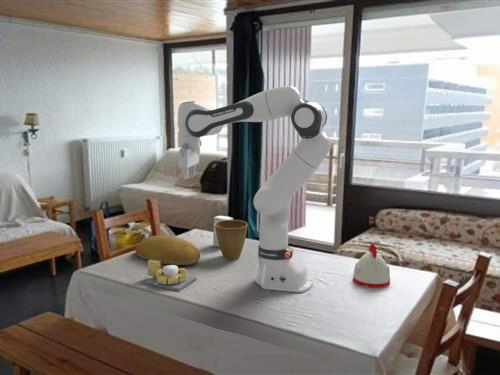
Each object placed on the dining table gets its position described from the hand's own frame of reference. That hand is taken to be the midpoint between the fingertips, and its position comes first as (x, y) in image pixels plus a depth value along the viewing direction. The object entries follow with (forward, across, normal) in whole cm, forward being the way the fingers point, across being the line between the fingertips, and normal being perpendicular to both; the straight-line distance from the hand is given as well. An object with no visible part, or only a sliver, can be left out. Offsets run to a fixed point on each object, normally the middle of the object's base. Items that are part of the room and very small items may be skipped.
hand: (189, 177), depth 171 cm
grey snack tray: (+40, -13, +4) cm, 42 cm away
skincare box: (+40, +36, -8) cm, 54 cm away
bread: (+41, +16, +14) cm, 46 cm away
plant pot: (+40, +19, -15) cm, 46 cm away
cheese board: (+38, -12, +7) cm, 41 cm away
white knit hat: (+39, -3, -74) cm, 83 cm away
